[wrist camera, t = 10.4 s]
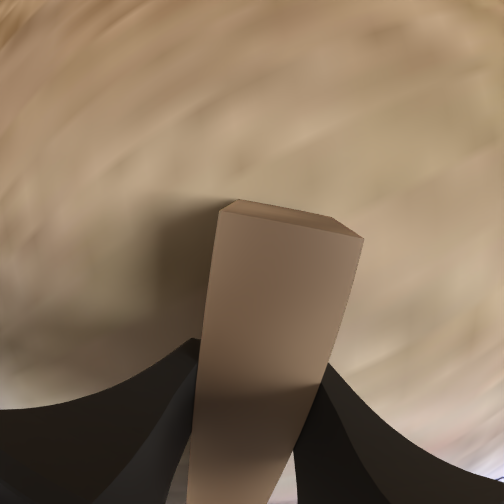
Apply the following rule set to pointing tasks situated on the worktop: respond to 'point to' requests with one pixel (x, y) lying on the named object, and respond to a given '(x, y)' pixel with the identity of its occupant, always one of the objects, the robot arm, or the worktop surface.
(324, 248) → the tan long block
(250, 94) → the worktop surface
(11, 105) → the worktop surface
